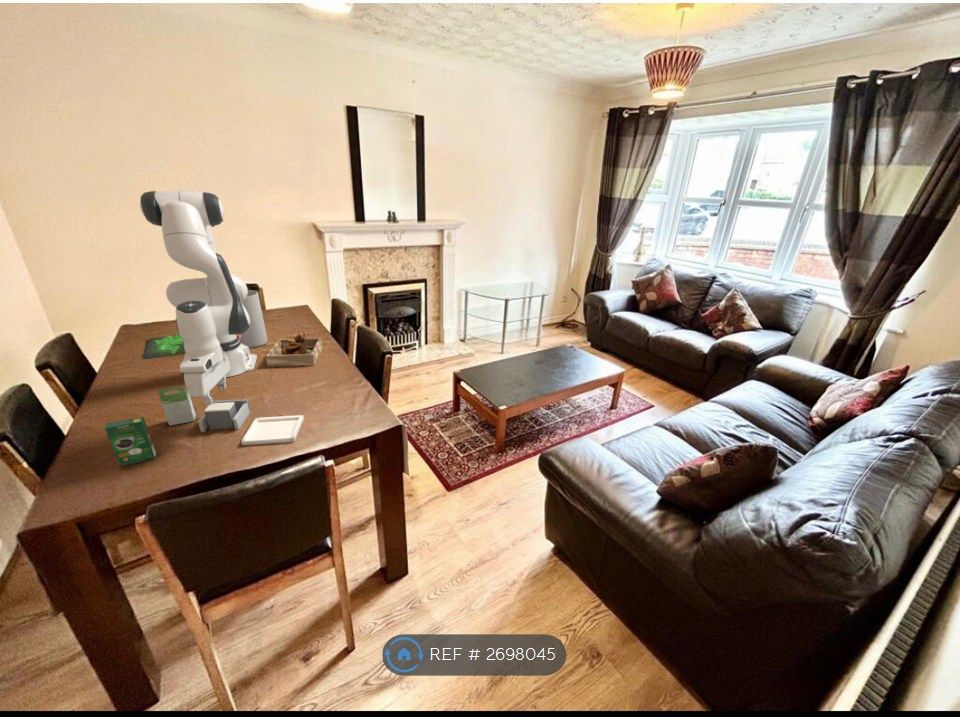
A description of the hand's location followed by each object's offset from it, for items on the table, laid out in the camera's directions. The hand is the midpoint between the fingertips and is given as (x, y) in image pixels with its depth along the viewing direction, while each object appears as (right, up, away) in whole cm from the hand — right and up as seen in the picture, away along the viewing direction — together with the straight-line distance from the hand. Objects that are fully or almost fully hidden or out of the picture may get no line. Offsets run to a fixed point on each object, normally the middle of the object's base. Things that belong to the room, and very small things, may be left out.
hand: (216, 395), depth 121 cm
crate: (-1, +13, +55) cm, 56 cm away
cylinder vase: (-28, +19, +67) cm, 75 cm away
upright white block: (-1, -10, +5) cm, 11 cm away
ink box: (-15, -9, +6) cm, 19 cm away
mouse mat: (-62, +18, +61) cm, 89 cm away
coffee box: (-14, -17, -12) cm, 25 cm away
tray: (+17, -12, +3) cm, 21 cm away
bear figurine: (-1, +12, +54) cm, 55 cm away
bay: (-1, -9, +7) cm, 11 cm away
